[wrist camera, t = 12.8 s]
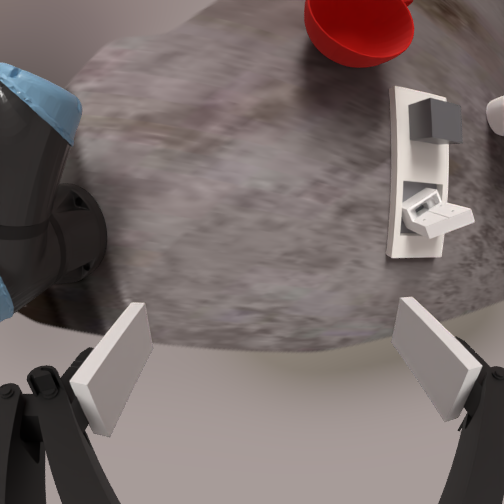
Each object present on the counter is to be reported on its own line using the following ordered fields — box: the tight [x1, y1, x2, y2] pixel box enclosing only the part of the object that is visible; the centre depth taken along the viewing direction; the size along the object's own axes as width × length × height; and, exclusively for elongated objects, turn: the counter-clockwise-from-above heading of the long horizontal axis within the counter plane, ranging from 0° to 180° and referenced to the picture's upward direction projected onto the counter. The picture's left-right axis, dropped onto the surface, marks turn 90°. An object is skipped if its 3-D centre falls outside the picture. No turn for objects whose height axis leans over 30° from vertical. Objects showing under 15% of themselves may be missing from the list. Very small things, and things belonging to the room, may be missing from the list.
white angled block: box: [401, 188, 475, 239], centre depth 35 cm, size 4×10×9 cm, turn 122°
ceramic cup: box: [304, 0, 414, 68], centre depth 28 cm, size 13×17×10 cm
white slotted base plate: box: [386, 86, 463, 258], centre depth 34 cm, size 9×24×8 cm, turn 1°
